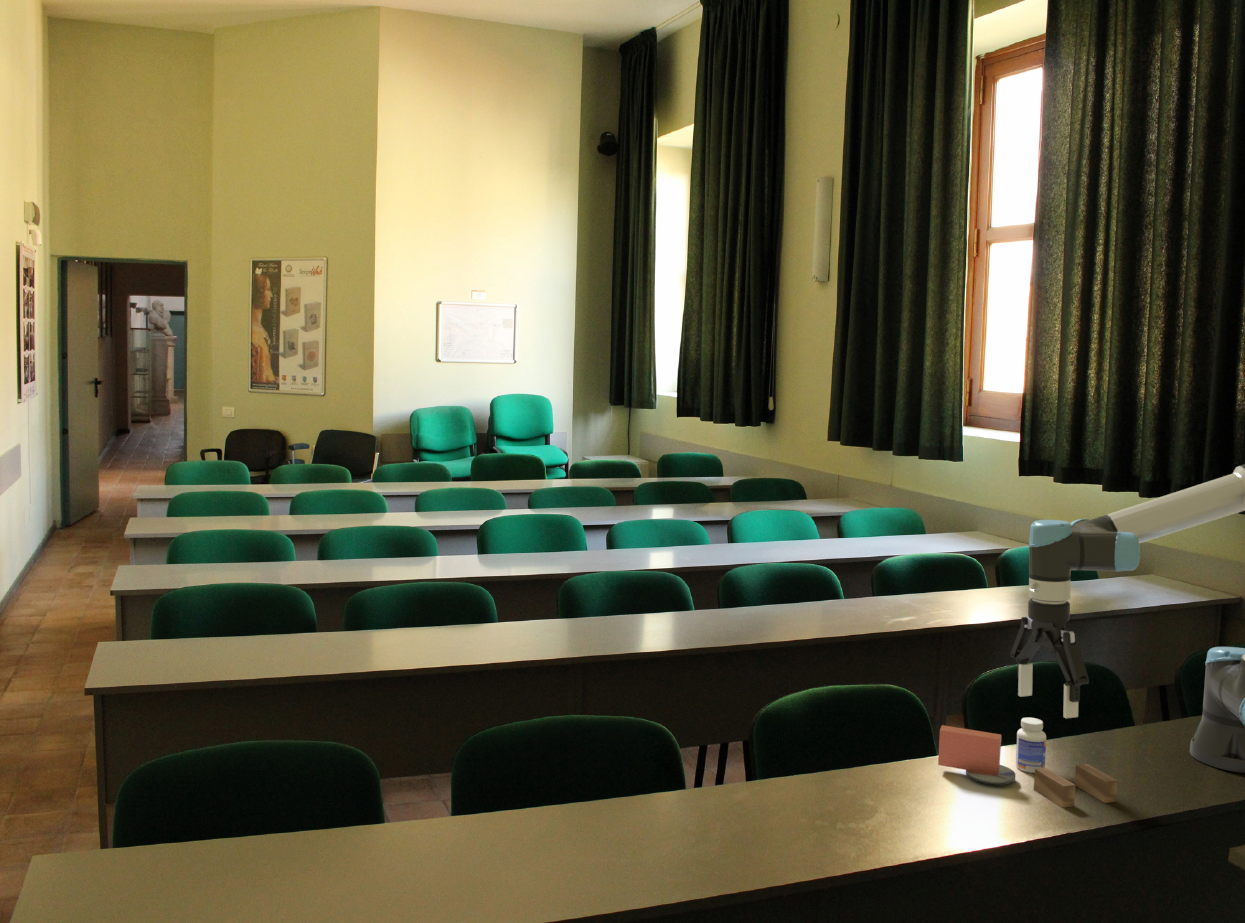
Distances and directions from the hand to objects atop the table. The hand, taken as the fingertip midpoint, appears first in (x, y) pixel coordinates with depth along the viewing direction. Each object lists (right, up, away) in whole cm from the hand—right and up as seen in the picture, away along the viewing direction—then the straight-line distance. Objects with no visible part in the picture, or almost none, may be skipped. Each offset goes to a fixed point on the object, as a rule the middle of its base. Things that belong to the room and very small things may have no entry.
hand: (1047, 706), depth 202 cm
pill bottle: (-3, -13, +1) cm, 13 cm away
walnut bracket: (0, -14, -12) cm, 18 cm away
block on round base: (-15, -12, -4) cm, 20 cm away
